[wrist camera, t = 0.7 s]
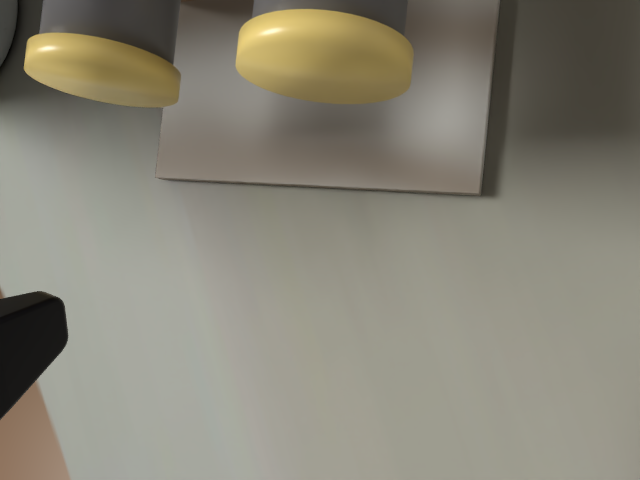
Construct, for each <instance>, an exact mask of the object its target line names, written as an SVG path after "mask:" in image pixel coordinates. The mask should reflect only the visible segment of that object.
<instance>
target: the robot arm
mask: <svg viewBox="0 0 640 480" xmlns="http://www.w3.org/2000/svg"><path fill="white" fill-rule="evenodd" d="M67 341H68V329H67V321H66V313H65V306H64V303H63V301H62V300H61V299H60V298H58V297H56V296H53V295H51V294H49V293H46V292H42V291H37V292H32V293H27V294H22V295H17V296H13V297H8V298H3V299H0V420H1V418H2V417H3V416H4V415H5V414H6V413H7V412H8V411H9V410H10V409H11V408H12V407H13V406H14V404H15V403H16V402H17V401H18V400H19V399H20V398H21V397H22V395H23V394H24V393H25V392H26V391H27V390H28V389H29V387H30V386H31V385H32V384H33V383H34V382H35V381H36V380H37V379H38V378H39V376H40V375H41V374H42V373H43V372H44V371H45V370H46V369H47V367H48V366H49V365H50V364H51V363H52V362H53V361H54V360H55V358H56V357H57V356H58V355H59V354H60V353H61V352H62V350H63V349H64V347H65V346H66V344H67Z"/></svg>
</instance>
